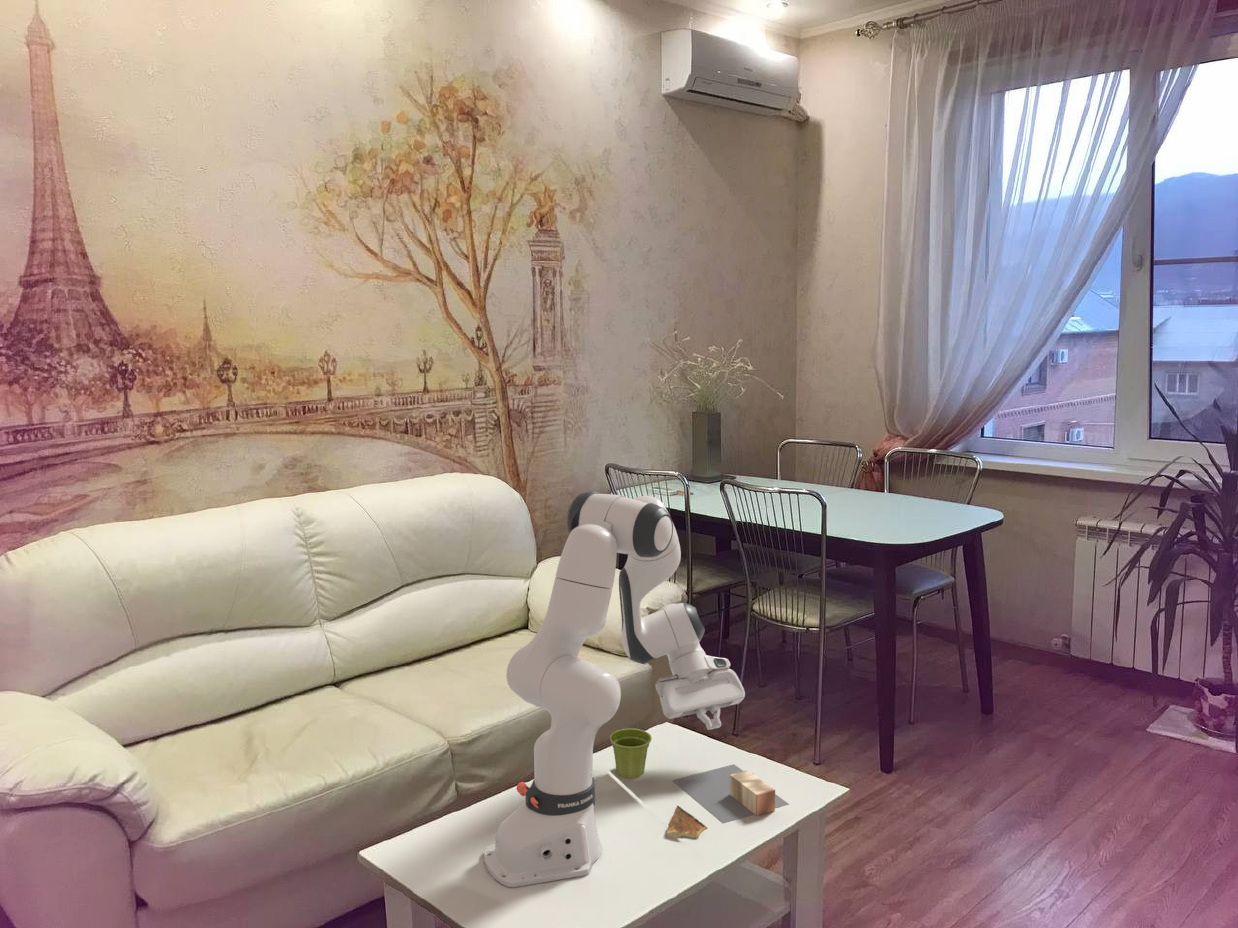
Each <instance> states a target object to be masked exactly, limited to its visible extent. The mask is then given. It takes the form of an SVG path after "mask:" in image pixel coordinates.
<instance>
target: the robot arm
mask: <svg viewBox="0 0 1238 928" xmlns="http://www.w3.org/2000/svg"><path fill="white" fill-rule="evenodd" d="M566 526H567V531H568V533H569V535H568V537H567V539H566V541H565V544H564V547H563V550H562V552H561V556H560V558H559V561H558V565H557V569H556V573H555V577H554V582H553V586H552V589H551V590H552V591H551V594H550V597H549V598H550V599H549V602H548V606H547V610H546V614H545V616H544V618H543V622H542V623H541V626H540V627H539V629H538V631H537V632H536V633H535V636H534V637H533V638H532V639H531V640H530V642H528V644H526V645H525V646H523V647H521V648H520V649H518V650H517V651H516V652H514V654H513V655H512V657H511V658H510V659H509V662H508V664H507V668H506V681H507V685H508V687H509V688H510V690H511V691H512V692H514V693H515V694H516V695H517V696H519V698H521V699H522V700H523V701H525V702H526V703H528V704H530V705H533V706H535V707H538V708H540V709H542V710H544V711H548V712H549V714H550V716H551V722H550V723H551V724H550V728H549V729H547V730H545V731H544V732H543V733H542V734H541V735H540V736H539V737H538V738H537V739H536V741H535V743H534V746H533V755H534V757H533V761H534V764H533V765H534V768H533V770H534V771H533V772H534V774H533V775H534V779H533V781H532V782H531V785H530V786H528V785H527V783H525V782H524V781H522V782H519V783H518V784H517V785H516V788H515V789H516V791H517V793H519V795H520V796H522V797H525V801H524V802H523V803H522V804H521V805H520V806H519V807H517V808H516V809H515V810H514V811H513V812H512V813H511V814H510V815H509V816H508V817H506V818H505V819H504V820H503V821H502V822H500V824H499V826H498V827H497V832H496V836H495V842H494V843H492V844H490V845H487V846H486V847H485V849H484V851H483V862H484V863H483V864H484V866H485V868H486V869H487V872H488V873H489V874H490V876H492V877H493V879H494V880H496V881H497V882H498V883H500V884H502V885H504V886H506V887H510V888H517V887H522V886H528V885H535V884H541V883H546V882H552V881H558V880H565V879H570V878H576V877H583V876H586V875H588V874H589V873H590V871H591V869H592V865H593V864H594V863H595V862H596V861H597V860H598V859H599V857H600V856H601V854H602V850H603V846H602V843H601V841H600V838H599V834H598V833H599V832H598V827H597V823H596V817H595V816H596V815H595V805H596V785H595V784H596V783H595V778H594V777H593V762H594V760H593V757H594V753H593V752H594V745H595V744H594V743H595V739H596V735H597V733H598V731H599V729H600V728H601V727H602V726H603V725H604V724H606V723H608V722H609V721H610V720H612V718H613V717H614V716H615V715H616V713H617V711H618V709H619V707H620V703H621V697H622V691H621V685H620V683H619V681H618V679H617V678H616V677H615V676H614V675H612V674H611V673H610V672H608V671H607V670H605V669H604V668H602V666H601V667H600V666H599V665H598V664H596V663H592V662H590V661H587V660H584V659H581V658H578V656H579V652H580V650H581V649H582V646H583V645H584V643H585V642H586V641H587V640H588V639H589V638H592V637H593V636H596V635H597V634H599V633H600V632H602V630H603V628H604V627H605V626H606V621H607V614H608V610H609V607H610V602H611V597H612V592H613V588H614V587H613V586H614V581H615V576H616V569H617V568H616V567H617V554H624V555H627V559H626V562H625V564H624V566H623V568H622V569H621V570H620V571H619V574H618V594H619V595H618V596H619V602H620V603H619V605H620V614H621V616H620V617H621V642H622V647H623V650H624V652H625V654H626V656H627V657H628V659H629V660H631V661H632V662H634V663H638V664H640V665H646V664H648V663H650V662H652V661H654V660H656V659H657V658H660V657H663V656H665V655H666V657H667V659H668V665H669V669H670V670H671V671H670V672H671V673H672V675H668V676H665V677H659V679H658V680H656V682H655V683H654V684H655V686H654V687H655V690H656V692H657V694H658V696H659V701H660V705H661V709H662V712H663V715H664V717H666V718H667V719H669V720H671V719H676V718H680V717H685V716H690V715H693V714H696V716H697V718H698V719H699V720H700V721H701V722H703V724H705V727H706V729H707V731H710V730H714V729H715V730H716V729H719V728H721V727H722V722H721V718H720V715H721V708H725V707H730V706H735V705H738V704H741V702H742V701H743V700H744V699H745V696H746V692H745V688H744V686H743V685H742V682H741V680H740V678H739V676H738V675H737V673H736V672H735V671H734V670H733V669H731V668H730V667H731V662H730V661H729V659H728V658H725V657H717V656H712V655H707V654H706V651H704V649H703V648H702V646H701V644H700V642H701V641H702V639H703V636H704V635H705V631H706V630H705V626H704V624H703V623H702V621H701V619H700V617H699V614H698V611H697V607H695V606H693V605H692V604H689V603H686V602H680V603H668V604H666V605H664V606H661V608H659V609H658V610H657V611H655V612H652V613H651V614H647V615H645V616H642V614H641V613H642V612H641V611H642V610H641V602H642V601H643V599H645V597H646V596H647V595H648V594H649V593H650V592H651V591H653V590H654V589H656V588H657V587H659V586H660V585H661V584H663V583H664V582H666V581H667V580H669V579H670V578H671V577H672V576H673V575H674V574H675V572H676V571H677V569H678V568H679V565H680V563H681V559H682V558H681V557H682V556H681V555H682V552H681V545H680V541H679V540H680V539H679V536H678V533H677V530H676V527H675V524H674V522H673V519H672V517H671V515H670V513H669V511H668V509H667V508H666V506H665V504H664V503H663V502H662V500H660V499H659V498H657V497H655V496H652V495H640V496H637V497H636V498H631V497H628V496H625V495H621V494H611V493H601V492H599V491H598V492H597V491H587V492H581V493H580V494H578V495H577V496H576V497H575V498H574V499H573V500H572V502H571V503H570V504H569V506H568V510H567V515H566ZM707 711H710V714H711V715H713V718H710V717H709V716H708V715H707V714H706V713H707Z"/></svg>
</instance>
